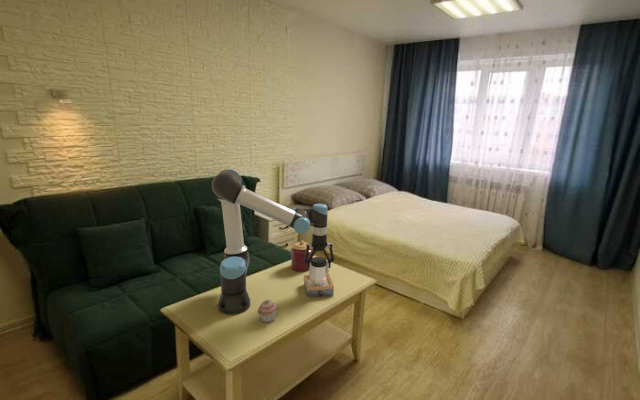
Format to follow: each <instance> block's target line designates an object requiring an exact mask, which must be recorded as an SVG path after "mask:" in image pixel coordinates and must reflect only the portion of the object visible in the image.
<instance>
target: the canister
mask: <svg viewBox="0 0 640 400" xmlns="http://www.w3.org/2000/svg"><path fill="white" fill-rule="evenodd" d="M307 243H308V242H306V241H304V240H300V241H297V242H295V243H294V244H293V245H292V247H291V255H290V256H291V264H290V266H291V269H292V270H293V271H296V272H309V269H307V263H304V256H305V252H306V248H307V247H306V244H307ZM312 250H313V247H312V246H311V247H310V248H309V253H308V257H307V260H308V258H309V256H310V254H311V252H312Z"/></svg>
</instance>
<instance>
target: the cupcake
mask: <svg viewBox="0 0 640 400" xmlns="http://www.w3.org/2000/svg"><path fill="white" fill-rule="evenodd" d="M278 310H279V308H278V307H277V305H276V304H275V302H273V301H272V300H270V299H266V300H264V301H262V302H261V303H260V305H259V307H258V310H257V313H258V315H259V317H260V321H261V322H263V323H264V324H270V323H273V322H274V321H275V319H276V317H277V313H278V312H279V311H278Z"/></svg>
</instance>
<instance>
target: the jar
mask: <svg viewBox="0 0 640 400" xmlns="http://www.w3.org/2000/svg"><path fill="white" fill-rule="evenodd" d="M326 261H327V258H326V257H322V256H313V258H312V260H311V275H310V281H311V282H313V283H314V284H324V282H325V281H326V278H327V264H326V263H327V262H326Z"/></svg>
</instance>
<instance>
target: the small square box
mask: <svg viewBox="0 0 640 400" xmlns="http://www.w3.org/2000/svg"><path fill="white" fill-rule="evenodd" d="M303 286H304V291H305V295H306V298H318V297H319V298H320V297H322V298H323V297H334V295H335V294H334V292H335V288H334V287H335V286H334V283H333V281H332V278H331V276H330V274H329V273H328V275H327V278H326V281H325V282H324V284H314V283H313V282H311V281H310V275H309V274H306V275H304V274H303Z"/></svg>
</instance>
